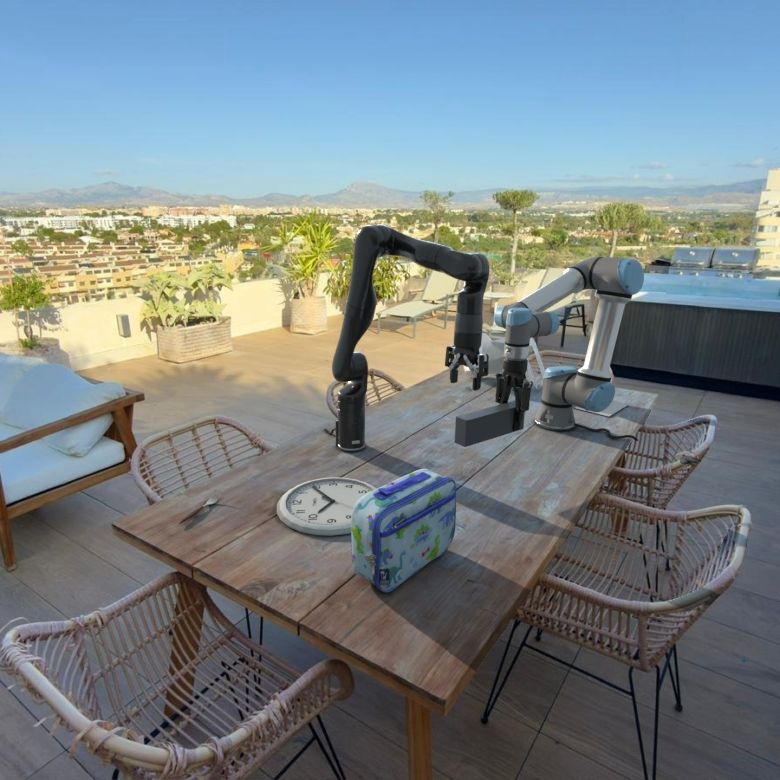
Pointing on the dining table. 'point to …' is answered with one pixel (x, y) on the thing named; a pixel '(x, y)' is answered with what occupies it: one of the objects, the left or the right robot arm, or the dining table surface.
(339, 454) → the dining table surface
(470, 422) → the bar
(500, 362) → the white plastic object
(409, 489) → the lunch box
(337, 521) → the wall clock
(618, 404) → the invitation card
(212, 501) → the fork
